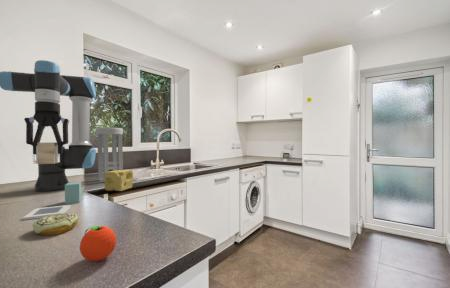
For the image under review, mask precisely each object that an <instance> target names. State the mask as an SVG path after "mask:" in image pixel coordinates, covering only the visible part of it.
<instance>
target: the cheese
mask: <svg viewBox="0 0 450 288" xmlns="http://www.w3.org/2000/svg"><path fill="white" fill-rule="evenodd" d="M133 171H134V170H133V169H123V170H118V169H117V170H115V171H112V170H109V172H105V183H104V190H105V191H109V192H112V191H115V192H123V191H126V190H129V189H132V188H133V183H134V172H133Z"/></svg>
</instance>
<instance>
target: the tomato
mask: <svg viewBox="0 0 450 288" xmlns="http://www.w3.org/2000/svg"><path fill="white" fill-rule="evenodd" d="M116 245H117V235H116V234H115V231H114V230H112V229H111V228H110V227H108V226H105V225H101V226H98V225H95V226H91V227H88V228H87V229H85V231H84V235H83V236H82V237H81V241H80V242H79V252H80V254H81V256H82V257H83V258H84V259H85V260H87V261H90V262H98V261H102V260H105V259H106V258H108V257H109V256H110V255H111V254H112V253H113V251H114V250H115V247H116Z"/></svg>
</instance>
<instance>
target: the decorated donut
mask: <svg viewBox="0 0 450 288" xmlns="http://www.w3.org/2000/svg"><path fill="white" fill-rule="evenodd" d="M78 221H79V217H78V215H77V214H76V213H71V212H66V213H60V214H55V215H50V216H46V217H43V218H38V219H37V220H35V221H34V222H33V224H32V229H33V231H34V233H36V234H38V235H40V236H43V237H45V236H55V235H60V233H61V234H63V233H66V232H69V231H70V230H73V229H74V227H75V226H76V225H77V224H78Z"/></svg>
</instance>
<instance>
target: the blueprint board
mask: <svg viewBox="0 0 450 288" xmlns="http://www.w3.org/2000/svg"><path fill="white" fill-rule="evenodd" d="M71 205H72V204H63V205H55V206H47V207H37V208H34V209H33V210H31V211H30V212H29V213H27V214H26V215H24V216H23V217H22V221H27V220H36V219H37V220H38V219H41V218H43V217H46V216H50V215H55V214H60V213H68V211H69V210H70V208H71Z"/></svg>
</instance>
